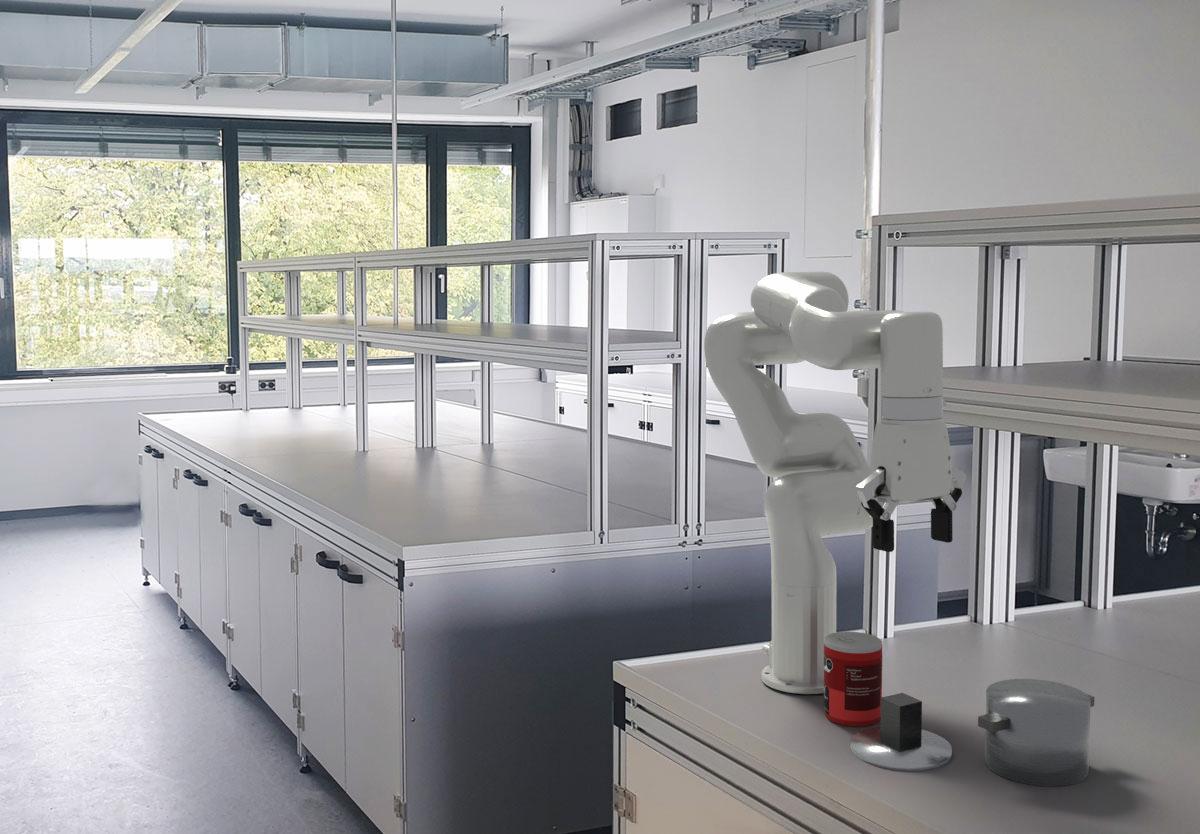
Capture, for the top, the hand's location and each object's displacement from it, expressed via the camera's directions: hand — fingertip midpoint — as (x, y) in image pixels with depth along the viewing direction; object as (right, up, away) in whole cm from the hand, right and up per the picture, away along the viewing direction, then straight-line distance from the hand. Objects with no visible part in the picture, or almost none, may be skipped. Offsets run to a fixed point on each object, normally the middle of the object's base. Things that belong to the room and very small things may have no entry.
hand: (913, 545), depth 150 cm
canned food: (-5, -25, +14) cm, 29 cm away
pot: (+14, -27, -3) cm, 31 cm away
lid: (-1, -27, +2) cm, 27 cm away
